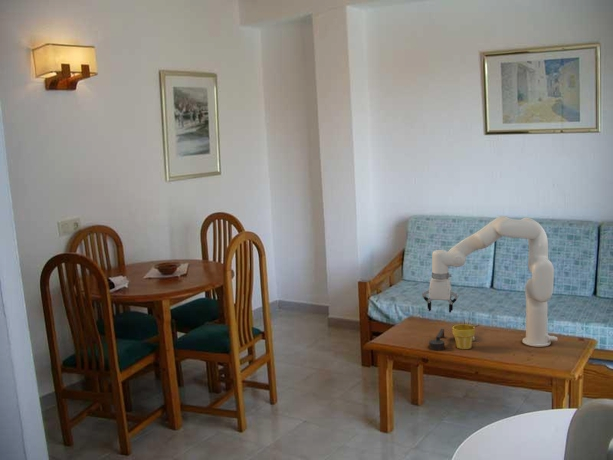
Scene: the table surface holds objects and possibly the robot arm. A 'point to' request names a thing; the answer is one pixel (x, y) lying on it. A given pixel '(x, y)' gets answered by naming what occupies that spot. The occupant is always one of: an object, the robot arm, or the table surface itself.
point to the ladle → (437, 342)
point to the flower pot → (463, 335)
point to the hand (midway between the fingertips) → (440, 311)
